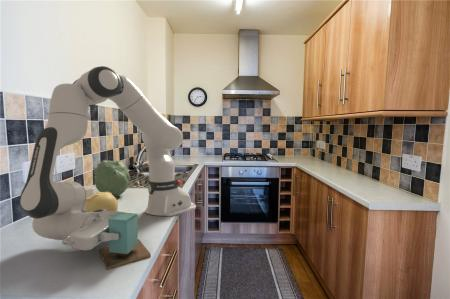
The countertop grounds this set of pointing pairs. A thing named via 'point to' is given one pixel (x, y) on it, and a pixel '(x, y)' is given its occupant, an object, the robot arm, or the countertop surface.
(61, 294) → the countertop surface
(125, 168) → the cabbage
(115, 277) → the countertop surface
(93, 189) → the white cup
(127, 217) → the teal tall prism
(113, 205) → the sculpture
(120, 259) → the brown square base plate
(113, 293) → the countertop surface
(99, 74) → the robot arm
